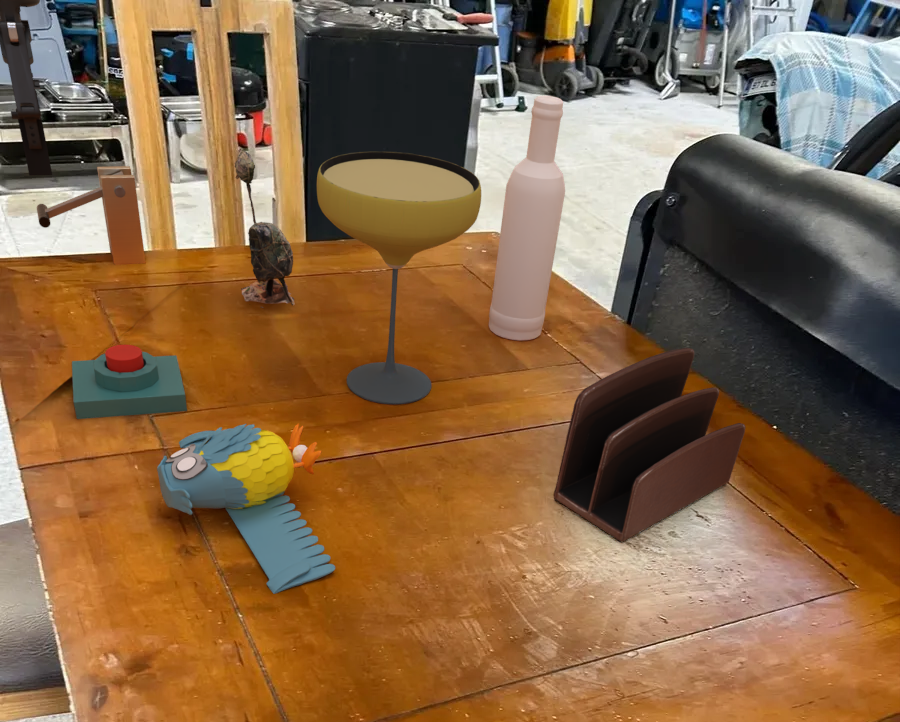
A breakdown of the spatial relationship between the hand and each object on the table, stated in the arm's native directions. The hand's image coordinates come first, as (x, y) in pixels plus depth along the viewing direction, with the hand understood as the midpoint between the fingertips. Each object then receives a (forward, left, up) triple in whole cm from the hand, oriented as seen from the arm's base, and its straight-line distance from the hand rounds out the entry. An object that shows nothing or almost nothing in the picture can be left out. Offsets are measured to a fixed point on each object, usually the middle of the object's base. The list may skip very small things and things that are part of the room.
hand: (38, 159), depth 117 cm
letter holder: (+85, -28, -16) cm, 91 cm away
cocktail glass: (+52, -14, -16) cm, 56 cm away
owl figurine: (+45, -45, -16) cm, 65 cm away
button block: (+24, -28, -16) cm, 40 cm away
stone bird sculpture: (+30, +3, -16) cm, 34 cm away
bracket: (+7, +6, -16) cm, 19 cm away
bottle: (+65, +9, -16) cm, 68 cm away
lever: (+4, +4, -7) cm, 9 cm away
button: (+24, -27, -12) cm, 39 cm away
